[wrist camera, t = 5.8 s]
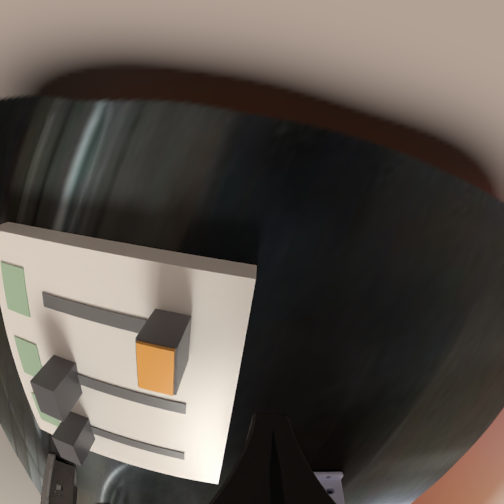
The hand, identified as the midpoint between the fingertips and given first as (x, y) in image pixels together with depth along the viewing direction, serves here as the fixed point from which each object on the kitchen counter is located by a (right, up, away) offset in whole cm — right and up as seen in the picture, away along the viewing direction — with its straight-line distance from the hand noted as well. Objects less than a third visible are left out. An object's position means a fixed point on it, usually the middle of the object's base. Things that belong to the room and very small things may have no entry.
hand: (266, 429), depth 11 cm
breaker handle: (-5, +3, +5) cm, 8 cm away
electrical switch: (-24, -22, +16) cm, 36 cm away
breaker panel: (-11, -2, +9) cm, 14 cm away
